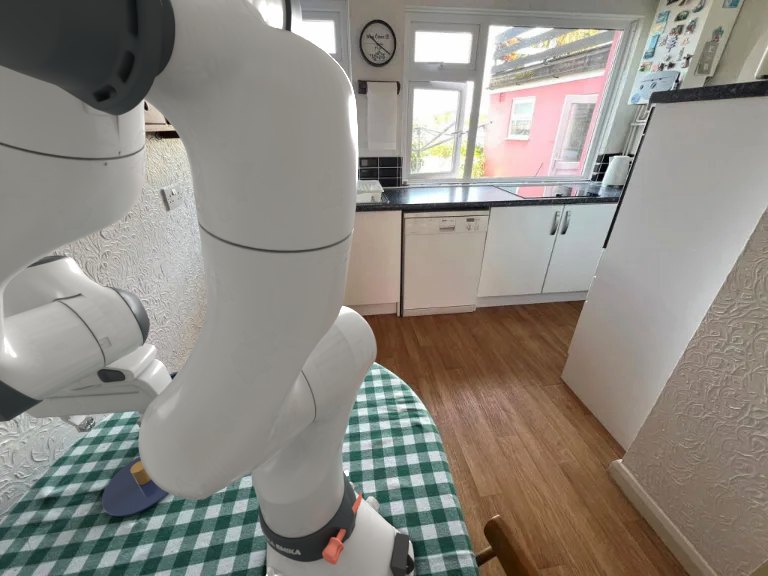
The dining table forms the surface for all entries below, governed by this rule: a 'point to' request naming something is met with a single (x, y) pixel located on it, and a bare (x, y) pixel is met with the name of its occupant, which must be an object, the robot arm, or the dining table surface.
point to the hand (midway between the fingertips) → (118, 426)
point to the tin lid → (131, 491)
